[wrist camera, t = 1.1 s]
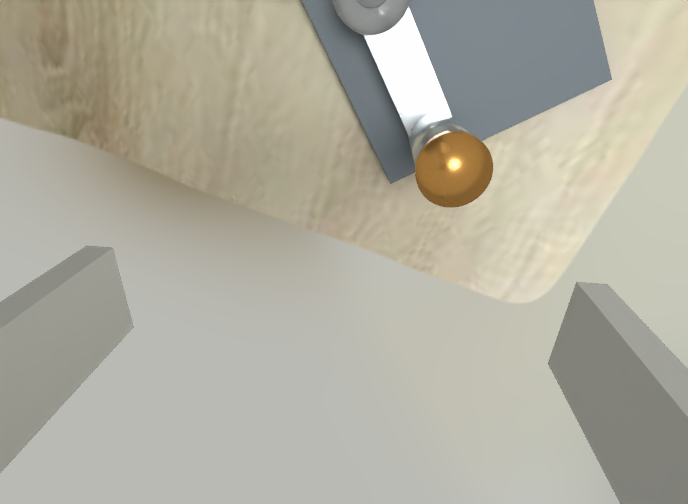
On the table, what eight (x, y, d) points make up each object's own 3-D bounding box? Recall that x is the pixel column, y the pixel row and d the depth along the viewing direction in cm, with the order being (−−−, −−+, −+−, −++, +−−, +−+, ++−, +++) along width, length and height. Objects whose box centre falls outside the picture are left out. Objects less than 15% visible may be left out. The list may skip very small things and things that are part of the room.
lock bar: (323, -24, 23) (285, -71, 15) (391, -70, 22) (394, -150, 13) (412, 170, 28) (423, 222, 19) (472, 141, 27) (514, 183, 18)
